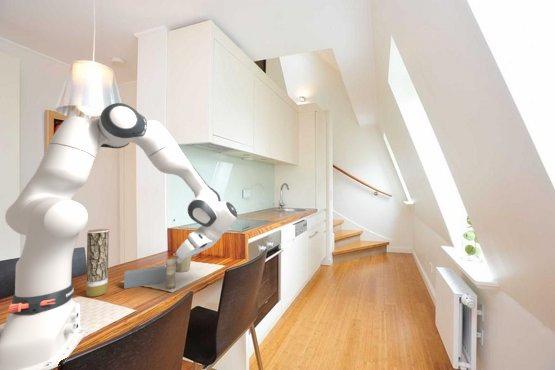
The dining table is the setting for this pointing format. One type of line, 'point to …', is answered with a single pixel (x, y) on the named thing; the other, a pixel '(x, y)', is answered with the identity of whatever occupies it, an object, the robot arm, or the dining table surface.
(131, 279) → the grey rectangular block
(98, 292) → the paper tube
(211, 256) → the dining table surface
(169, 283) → the dowel
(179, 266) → the flower pot
